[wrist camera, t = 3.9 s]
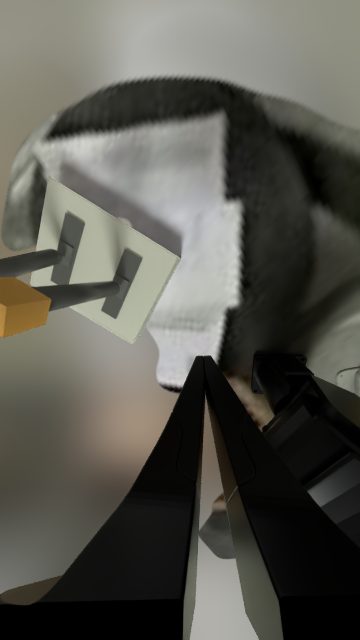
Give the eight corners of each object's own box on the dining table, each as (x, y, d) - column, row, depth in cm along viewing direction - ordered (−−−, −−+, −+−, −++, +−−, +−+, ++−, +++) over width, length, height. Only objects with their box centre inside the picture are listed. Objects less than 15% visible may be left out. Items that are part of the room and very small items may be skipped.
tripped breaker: (128, 286, 17) (6, 306, 6) (122, 299, 17) (3, 338, 7) (110, 275, 17) (-44, 277, 6) (105, 288, 17) (-43, 311, 7)
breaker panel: (181, 258, 18) (125, 219, 5) (139, 337, 23) (50, 426, 9) (69, 188, 18) (-325, -62, 4) (48, 283, 22) (-182, 297, 9)
